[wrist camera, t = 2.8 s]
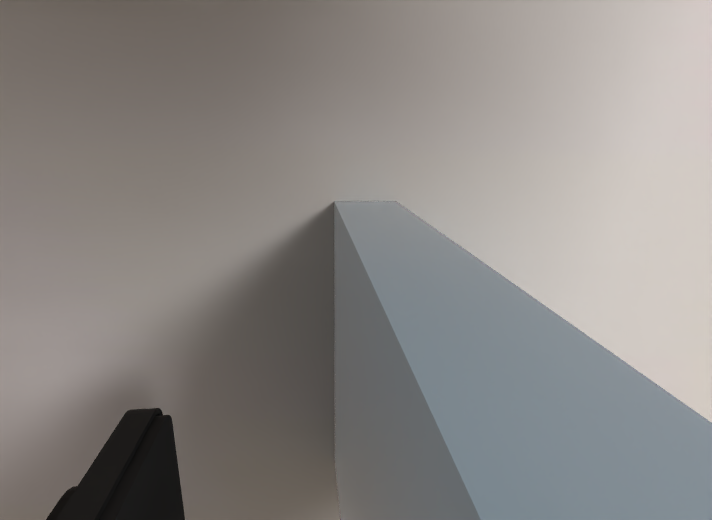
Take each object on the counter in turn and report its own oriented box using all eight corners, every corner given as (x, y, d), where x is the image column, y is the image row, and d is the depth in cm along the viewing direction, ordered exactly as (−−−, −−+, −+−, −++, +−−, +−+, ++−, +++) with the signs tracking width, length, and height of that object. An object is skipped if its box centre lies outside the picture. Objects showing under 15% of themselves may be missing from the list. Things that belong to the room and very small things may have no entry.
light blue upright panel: (334, 201, 12) (576, 730, 1) (396, 201, 12) (1034, 648, 2) (334, 460, 14) (416, 1342, 4) (385, 456, 15) (595, 1281, 4)
